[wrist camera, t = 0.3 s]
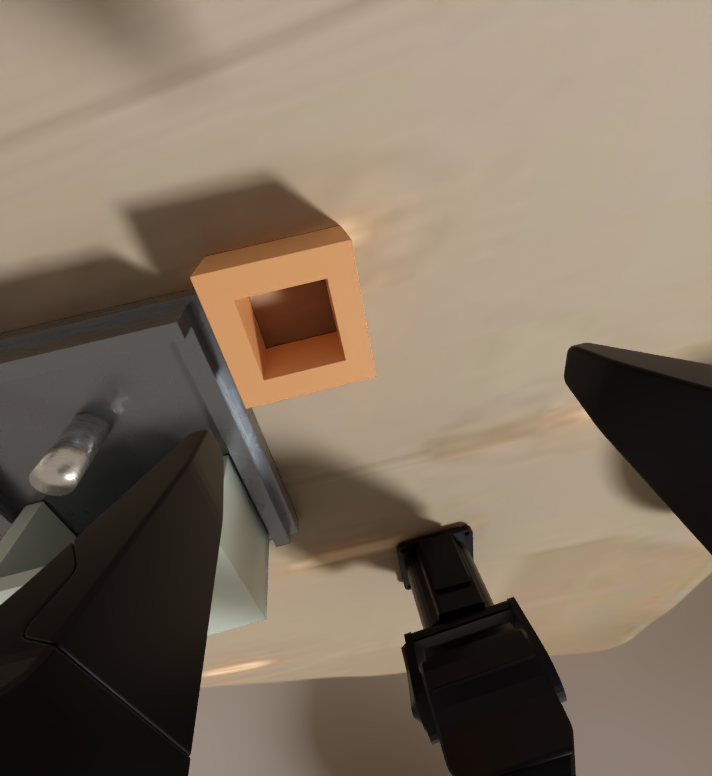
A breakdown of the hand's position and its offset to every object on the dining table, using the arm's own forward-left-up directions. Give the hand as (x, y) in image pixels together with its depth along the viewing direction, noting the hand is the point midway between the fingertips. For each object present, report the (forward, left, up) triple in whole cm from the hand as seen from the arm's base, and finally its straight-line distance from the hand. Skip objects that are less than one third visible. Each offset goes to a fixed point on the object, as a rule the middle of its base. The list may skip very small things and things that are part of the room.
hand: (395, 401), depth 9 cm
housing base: (-8, +15, -12) cm, 21 cm away
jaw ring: (-1, +3, -12) cm, 12 cm away
